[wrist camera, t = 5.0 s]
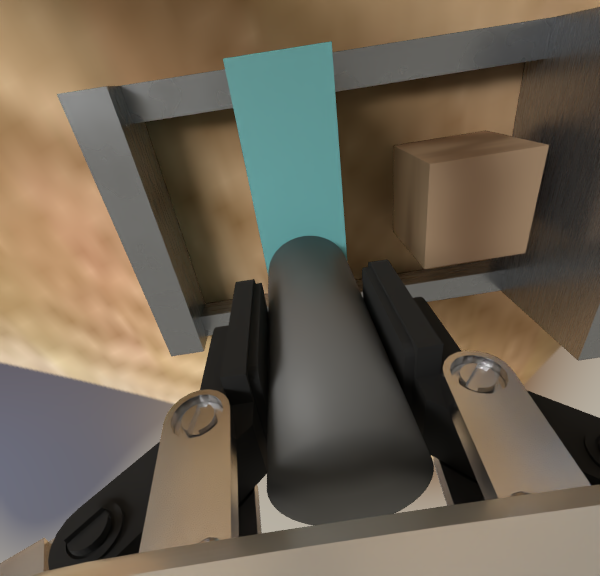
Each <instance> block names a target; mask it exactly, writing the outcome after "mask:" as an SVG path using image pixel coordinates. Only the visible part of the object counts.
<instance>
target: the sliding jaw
mask: <svg viewBox="0 0 600 576" xmlns="http://www.w3.org/2000/svg"><path fill="white" fill-rule="evenodd" d="M223 61H224V66H225V71H226V76H227V80H228V85H229V90H230V95H231V100H232V104H233V109H234V114H235V119H236V123H237V128H238V133H239V138H240V143H241V147H242V152H243V157H244V162H245V166H246V171H247V176H248V181H249V186H250V190H251V195H252V200H253V205H254V209H255V214H256V219H257V224H258V229H259V233H260V238H261V243H262V248H263V252H264V257H265V262H266V267H267V272H268V416H267V493H268V497H269V499H270V501H271V503H272V504H273V505H274V507H275V508H276V509H277V510H278V511H279V512H281V513H282V514H284V515H285V516H287V517H289V518H291V519H293V520H296V521H298V522H302V523H305V524H309V525H322V524H328V523H335V522H342V521H348V520H355V519H362V518H369V517H375V516H382V515H389V514H394V513H396V512H398V511H400V510H402V509H403V508H405V507H407V506H408V505H410V504H411V503H412V502H414V501H415V500H416V499H417V498H418V497H420V496H421V494H422V493H423V492H424V491H425V490H426V488H427V487H428V485H429V484H430V481H431V479H432V476H433V472H434V470H433V469H434V465H433V461H432V458H431V455H430V453H429V451H428V448H427V446H426V444H425V441H424V439H423V437H422V434H421V432H420V430H419V427H418V425H417V423H416V420H415V418H414V416H413V413H412V411H411V409H410V406H409V404H408V402H407V399H406V397H405V395H404V393H403V390H402V388H401V386H400V383H399V381H398V379H397V376H396V374H395V372H394V369H393V367H392V365H391V362H390V360H389V358H388V355H387V353H386V351H385V348H384V346H383V344H382V341H381V339H380V337H379V334H378V332H377V330H376V327H375V325H374V323H373V320H372V318H371V316H370V313H369V311H368V309H367V306H366V304H365V302H364V299H363V297H362V295H361V292H360V290H359V288H358V285H357V283H356V281H355V278H354V276H353V274H352V271H351V269H350V267H349V264H348V262H347V250H346V236H345V222H344V208H343V194H342V180H341V166H340V152H339V138H338V124H337V110H336V96H335V82H334V68H333V54H332V41H331V42H325V43H318V44H312V45H306V46H300V47H293V48H287V49H281V50H274V51H268V52H262V53H255V54H249V55H243V56H237V57H230V58H224V59H223Z"/></svg>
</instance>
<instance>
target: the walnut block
mask: <svg viewBox="0 0 600 576" xmlns="http://www.w3.org/2000/svg"><path fill="white" fill-rule="evenodd" d="M548 147H549V145H547V144H543V143H538V142H534V141H529V140H525V139H521V138H516V137H512V136H507V135H503V134H499V133H494V132H490V131H480V132H474V133H468V134H461V135H455V136H449V137H443V138H437V139H431V140H424V141H418V142H412V143H406V144H400V145H394V156H393V232H394V233H395V234H396V236H397V237H398V238H399V239H400V240H401V242H402V243H403V244H404V245H405V246H406V248H407V249H408V250H409V251H410V252H411V254H412V255H413V256H414V257H415V259H416V260H417V261H418V262H419V263H420V265H421V266H422V267H423V268H424V269H428V268H434V267H441V266H447V265H453V264H460V263H466V262H472V261H478V260H485V259H491V258H497V257H503V256H510V255H516V254H522V253H525V252H526V248H527V243H528V238H529V234H530V229H531V225H532V220H533V216H534V211H535V207H536V202H537V197H538V193H539V188H540V184H541V179H542V175H543V170H544V166H545V161H546V156H547V152H548Z"/></svg>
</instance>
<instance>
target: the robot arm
mask: <svg viewBox="0 0 600 576" xmlns="http://www.w3.org/2000/svg"><path fill="white" fill-rule="evenodd" d="M362 281H363V299H364V302H365V304H366V306H367V309H368V311H369V313H370V316H371V318H372V320H373V323H374V325H375V327H376V330H377V332H378V334H379V337H380V339H381V341H382V344H383V346H384V348H385V351H386V353H387V355H388V358H389V360H390V362H391V365H392V367H393V369H394V372H395V374H396V376H397V379H398V381H399V383H400V386H401V388H402V390H403V393H404V395H405V397H406V399H407V402H408V404H409V406H410V409H411V411H412V413H413V416H414V418H415V420H416V423H417V425H418V427H419V430H420V432H421V434H422V437H423V439H424V441H425V444H426V446H427V448H428V451H429V453H430V455H432V456H433V462H434V465H435V468H436V472H437V475H438V478H439V481H440V484H441V487H442V491H443V494H444V497H445V500H446V503H447V506H443V507H436V508H430V509H423V510H416V511H409V512H402V513H396V514H389V515H382V516H375V517H369V518H362V519H355V520H348V521H342V522H335V523H328V524H322V525H315V526H308V527H302V528H295V529H288V530H282V531H275V532H269V533H262V532H261V520H260V506H259V493H258V486H257V484H258V483H259V481H260V480H261V479H262V478H263V477H264V476H265V475H266V474H267V416H268V309H267V304H266V300H265V295H264V290H263V286H262V283H258V284H256V283H255V280H254V279H253V280H247V281H240V282H236V284H235V289H234V295H233V301H232V307H231V313H230V319H229V325H227V326H220V327H216V328H214V331H213V335H212V339H211V344H210V348H209V352H208V357H207V361H206V366H205V370H204V375H203V379H202V384H201V388H200V390H199V391H196V392H193V393H190V394H188V395H187V396H185V397H183V398H181V399H180V400H179V401H178V402H177V403H176V404H174V405H173V406H172V408H171V409H170V411H169V412H168V414H167V415H166V418H165V421H164V424H163V430H162V435H161V439H160V442H159V443H158V444H156V445H155V446H154V447H153V448H152V449H150V450H149V451H148V452H147V453H145V454H144V455H143V456H142V457H141V458H139V459H138V460H137V461H136V462H135V463H133V464H132V465H131V466H130V467H129V468H127V469H126V470H125V471H124V472H122V473H121V474H120V475H119V476H118V477H116V478H115V479H114V480H113V481H111V482H110V483H109V484H108V485H107V486H106V487H104V488H103V489H102V490H101V491H99V492H98V493H97V494H96V495H95V496H93V497H92V498H91V499H90V500H88V501H87V502H86V503H85V504H84V505H82V506H81V507H80V508H79V509H78V510H77V511H76V512H75V513H74V514H72V515H71V516H70V517H69V519H67V520H66V522H65V523H64V525H63V526H62V527H61V529H60V530H59V531H58V533H57V534H56V537H55V538H54V539H52V540H51V541H49V542H48V541H47V540H46V539H45V538H43V539H41V540H39V541H38V542H36V543H34V544H33V545H31V546H29V547H27V548H26V549H24V550H22V551H21V552H19V553H17V554H16V555H14V556H12V557H10V558H9V559H7V560H5V561H3V562H2V563H0V576H600V418H598V417H596V416H593V415H590V414H588V413H585V412H582V411H580V410H577V409H574V408H572V407H569V406H566V405H564V404H561V403H559V402H556V401H553V400H551V399H548V398H545V397H542V396H540V395H537V394H535V393H532V392H530V391H527V390H526V389H525V387H524V386H523V384H522V383H521V382H520V380H519V379H518V377H517V376H516V374H515V373H514V371H513V370H512V369H511V368H510V367H509V366H508V365H507V364H506V363H505V362H503V361H502V360H500V359H499V358H497V357H495V356H493V355H490V354H488V353H484V352H479V351H461V350H460V348H459V347H458V346H457V344H456V343H455V341H454V340H453V339H452V337H451V336H450V334H449V333H448V332H447V330H446V329H445V327H444V326H443V324H442V323H441V322H440V320H439V319H438V317H437V316H436V315H435V313H434V312H433V310H432V309H431V308H430V306H429V305H428V303H427V302H426V301H425V299H424V298H423V297H415V298H413V297H412V296H411V294H410V293H409V291H408V290H407V288H406V287H405V285H404V284H403V282H402V281H401V279H400V278H399V276H398V274H397V273H396V271H395V270H394V268H393V267H392V265H391V264H390V262H389V261H388V260H380V261H374V262H369V263H368V267H365V268H363V269H362Z"/></svg>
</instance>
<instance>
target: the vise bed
mask: <svg viewBox="0 0 600 576" xmlns="http://www.w3.org/2000/svg"><path fill="white" fill-rule="evenodd" d="M332 54H333V68H334V82H335V92H337V91H343V90H350V89H356V88H362V87H369V86H375V85H381V84H388V83H394V82H400V81H407V80H413V79H419V78H426V77H432V76H438V75H445V74H451V73H457V72H464V71H470V70H476V69H483V68H489V67H495V66H502V65H508V64H514V63H521V62H525V66H524V72H523V77H522V83H521V89H520V95H519V101H518V107H517V113H516V118H515V124H514V130H513V136H512V137H516V138H521V139H525V140H529V141H534V142H538V143H543V144H547V145H549V147H548V152H547V156H546V161H545V166H544V170H543V175H542V179H541V184H540V188H539V193H538V197H537V202H536V207H535V211H534V216H533V220H532V225H531V229H530V234H529V238H528V243H527V248H526V252H525V253H522V254H516V255H510V256H503V257H497V258H492V259H490V260H484V261H477V262H471V263H464V264H458V265H451V266H445V267H438V268H432V269H425V270H419V271H413V272H406V273H400V274H398V276H399V278H400V279H401V281H402V282H403V284H404V285H405V287H406V288H407V290H408V291H409V293H410V294H411V296H412V297H413V298H415V297H423V298H424V299H425V301H426V302H429V301H435V300H442V299H448V298H455V297H461V296H468V295H474V294H481V293H487V292H494V291H500V290H501V291H502V292H503V293H504V294H505V295H506V296H507V297H509V298H510V299H511V300H512V301H513V302H514V303H515V304H516V305H517V306H518V307H520V308H521V309H522V310H523V311H524V312H525V313H526V314H527V315H528V316H530V317H531V318H532V319H533V320H534V321H535V322H536V323H537V324H538V325H539V326H541V327H542V328H543V329H544V330H545V331H546V332H547V333H548V334H549V335H550V336H552V337H553V338H554V339H555V340H556V341H557V342H558V343H559V344H560V345H562V346H563V347H564V348H565V349H566V350H567V351H568V352H569V353H570V354H571V355H573V356H574V357H575V358H576V359H577V360H584V359H591V358H598V357H600V7H597V8H593V9H589V10H584V11H580V12H575V13H571V14H566V15H562V16H557V17H552V18H546V19H540V20H533V21H527V22H521V23H514V24H508V25H502V26H495V27H489V28H483V29H476V30H470V31H464V32H458V33H451V34H445V35H439V36H432V37H426V38H420V39H413V40H407V41H401V42H394V43H388V44H382V45H375V46H369V47H363V48H357V49H350V50H344V51H338V52H332ZM57 96H58V98H59V100H60V102H61V105H62V107H63V109H64V112H65V114H66V116H67V118H68V121H69V123H70V125H71V128H72V130H73V132H74V134H75V137H76V139H77V141H78V144H79V146H80V148H81V150H82V153H83V155H84V157H85V160H86V162H87V164H88V166H89V169H90V171H91V173H92V176H93V178H94V180H95V183H96V185H97V187H98V189H99V192H100V194H101V196H102V199H103V201H104V203H105V205H106V208H107V210H108V212H109V215H110V217H111V219H112V221H113V224H114V226H115V228H116V231H117V233H118V235H119V237H120V240H121V242H122V244H123V247H124V249H125V251H126V253H127V256H128V258H129V260H130V263H131V265H132V267H133V269H134V272H135V274H136V276H137V279H138V281H139V283H140V285H141V288H142V290H143V292H144V295H145V297H146V299H147V301H148V304H149V306H150V308H151V311H152V313H153V315H154V317H155V320H156V322H157V324H158V327H159V329H160V331H161V333H162V336H163V338H164V340H165V343H166V345H167V347H168V349H169V352H170V354H171V356H176V355H183V354H189V353H196V352H202V351H204V349H205V345H206V341H207V337H208V336H209V335H213V331H214V328H216V327H220V326H227V325H229V319H230V313H231V307H232V301H233V299H232V300H225V301H219V302H212V303H206V304H205V302H204V299H203V296H202V293H201V290H200V287H199V284H198V281H197V278H196V275H195V272H194V269H193V266H192V263H191V260H190V257H189V254H188V251H187V248H186V245H185V242H184V239H183V236H182V233H181V230H180V227H179V224H178V221H177V218H176V215H175V212H174V209H173V206H172V203H171V200H170V197H169V194H168V191H167V188H166V185H165V182H164V179H163V176H162V173H161V170H160V167H159V164H158V161H157V158H156V155H155V152H154V149H153V146H152V143H151V140H150V137H149V134H148V131H147V128H146V125H145V122H147V121H153V120H159V119H166V118H172V117H178V116H185V115H191V114H197V113H204V112H210V111H216V110H223V109H229V108H233V104H232V100H231V95H230V90H229V85H228V80H227V76H226V71H225V69H224V70H218V71H211V72H205V73H199V74H192V75H186V76H180V77H173V78H167V79H161V80H155V81H148V82H142V83H136V84H129V85H123V86H106V87H99V88H93V89H87V90H80V91H74V92H68V93H61V94H57ZM355 281H356V283H357V285H358V288H359V290H360V292H361V295H362V297H363V281H362V279H361V280H355ZM264 295H265V300H266V304H267V309H268V294H264Z"/></svg>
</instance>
